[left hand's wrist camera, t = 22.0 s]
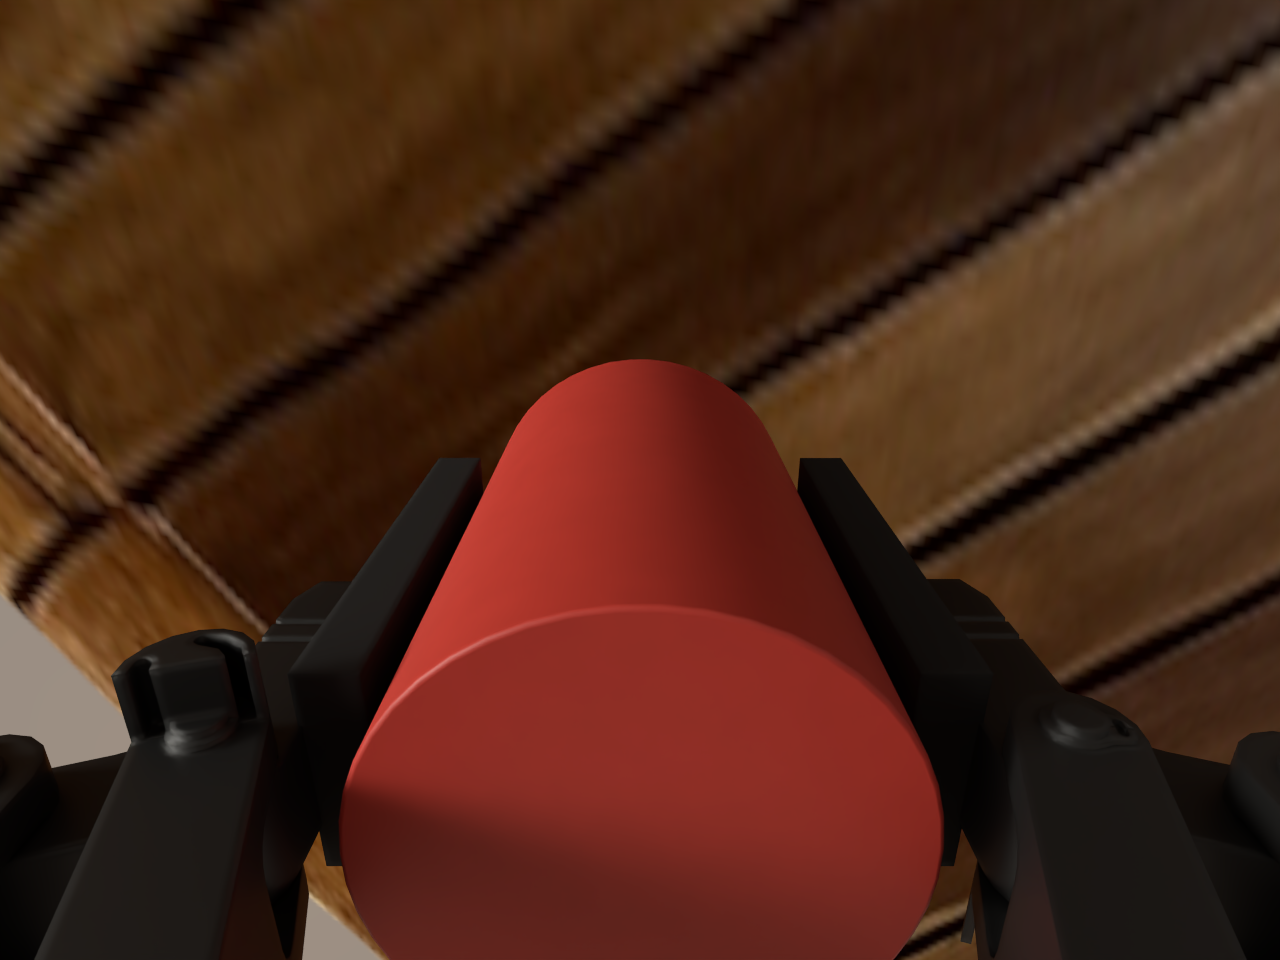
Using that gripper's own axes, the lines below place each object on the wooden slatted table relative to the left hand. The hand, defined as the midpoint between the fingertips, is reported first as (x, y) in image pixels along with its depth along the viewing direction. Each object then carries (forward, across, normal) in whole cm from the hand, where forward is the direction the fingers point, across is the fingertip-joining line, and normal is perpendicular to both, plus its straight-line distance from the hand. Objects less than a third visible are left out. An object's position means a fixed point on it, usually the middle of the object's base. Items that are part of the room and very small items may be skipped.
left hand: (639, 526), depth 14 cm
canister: (+2, 0, 0) cm, 2 cm away
